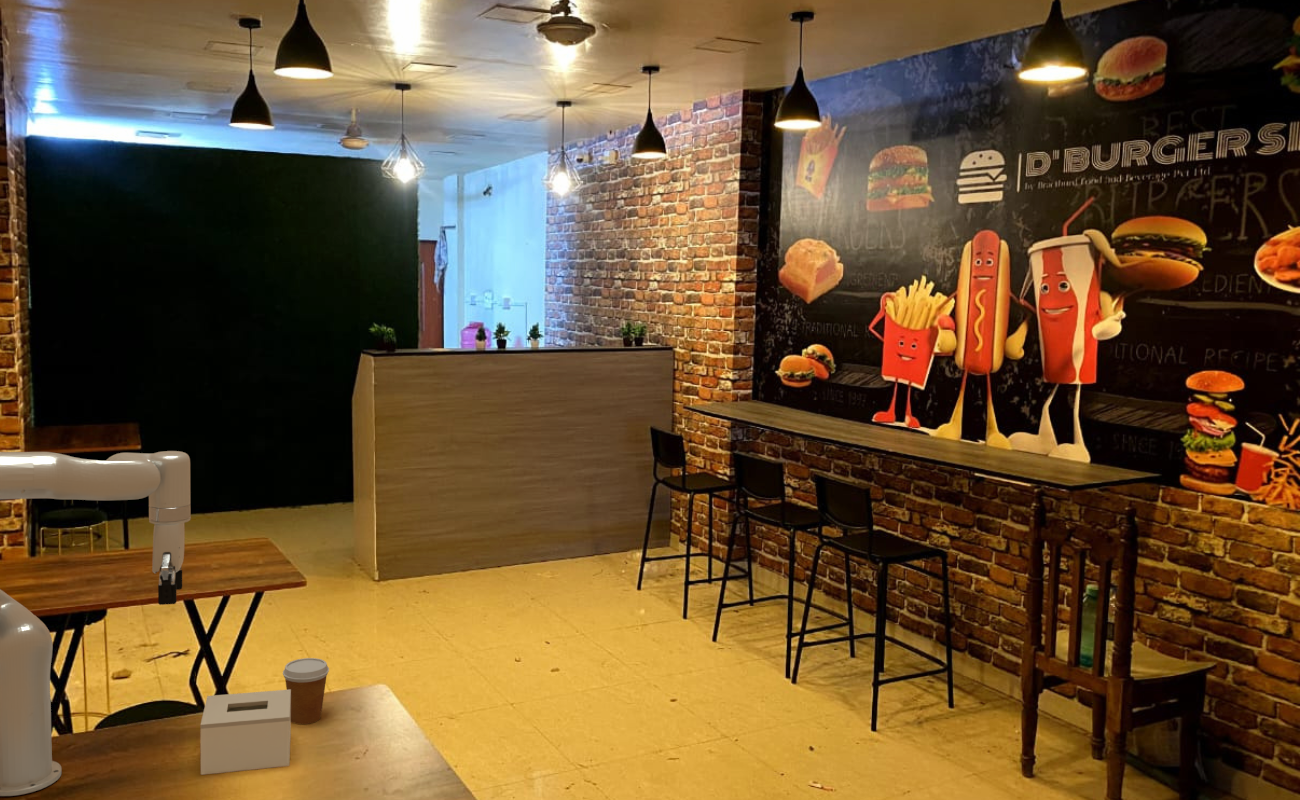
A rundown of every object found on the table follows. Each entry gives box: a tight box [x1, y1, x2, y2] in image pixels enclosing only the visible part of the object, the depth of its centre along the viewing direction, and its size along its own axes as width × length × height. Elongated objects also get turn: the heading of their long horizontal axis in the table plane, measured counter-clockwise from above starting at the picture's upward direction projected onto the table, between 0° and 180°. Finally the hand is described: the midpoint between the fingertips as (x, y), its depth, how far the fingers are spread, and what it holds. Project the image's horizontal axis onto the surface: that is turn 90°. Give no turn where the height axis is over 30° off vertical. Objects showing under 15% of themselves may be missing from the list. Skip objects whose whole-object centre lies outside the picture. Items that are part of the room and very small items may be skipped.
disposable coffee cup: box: [282, 657, 330, 725], centre depth 222 cm, size 10×10×12 cm
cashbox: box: [200, 689, 292, 775], centre depth 204 cm, size 16×14×10 cm
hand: (170, 596), depth 206 cm, fingers open, 9 cm apart
